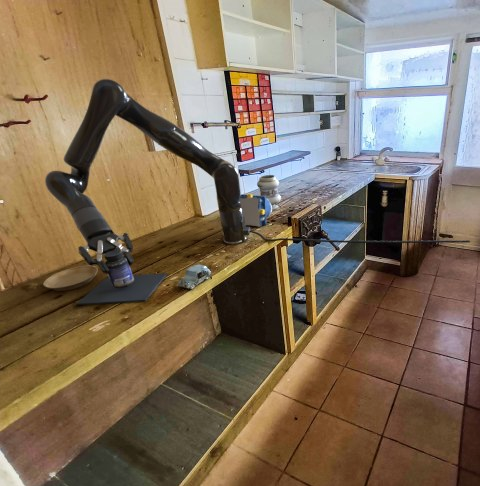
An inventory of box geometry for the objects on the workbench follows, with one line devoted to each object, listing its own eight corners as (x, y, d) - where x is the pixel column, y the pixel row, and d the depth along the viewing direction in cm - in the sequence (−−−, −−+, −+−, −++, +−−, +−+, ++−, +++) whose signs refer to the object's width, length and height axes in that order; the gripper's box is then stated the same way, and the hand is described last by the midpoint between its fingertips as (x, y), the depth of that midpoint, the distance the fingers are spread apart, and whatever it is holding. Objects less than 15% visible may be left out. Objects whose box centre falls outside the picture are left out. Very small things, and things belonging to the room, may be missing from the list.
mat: (166, 274, 109) (166, 273, 108) (145, 301, 94) (145, 299, 94) (108, 278, 108) (107, 276, 107) (77, 305, 93) (76, 303, 93)
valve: (261, 227, 146) (260, 195, 142) (235, 224, 151) (233, 193, 147) (276, 222, 158) (275, 192, 154) (251, 219, 163) (249, 190, 159)
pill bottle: (138, 280, 102) (129, 250, 97) (122, 290, 97) (111, 258, 92) (124, 277, 104) (114, 247, 99) (107, 287, 99) (96, 256, 94)
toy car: (179, 289, 100) (175, 275, 98) (202, 274, 108) (199, 262, 106) (194, 293, 97) (190, 279, 95) (216, 278, 106) (214, 265, 104)
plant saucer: (41, 284, 105) (38, 278, 104) (92, 267, 115) (90, 261, 114) (52, 300, 96) (49, 293, 95) (106, 280, 106) (103, 273, 105)
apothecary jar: (255, 210, 172) (251, 178, 164) (267, 204, 182) (264, 173, 174) (274, 212, 167) (271, 179, 160) (285, 206, 177) (282, 174, 170)
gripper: (64, 225, 90) (94, 272, 89) (118, 212, 101) (145, 254, 99) (65, 238, 96) (93, 283, 94) (116, 224, 106) (142, 264, 104)
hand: (120, 268), depth 97 cm, fingers closed on pill bottle, 6 cm apart
